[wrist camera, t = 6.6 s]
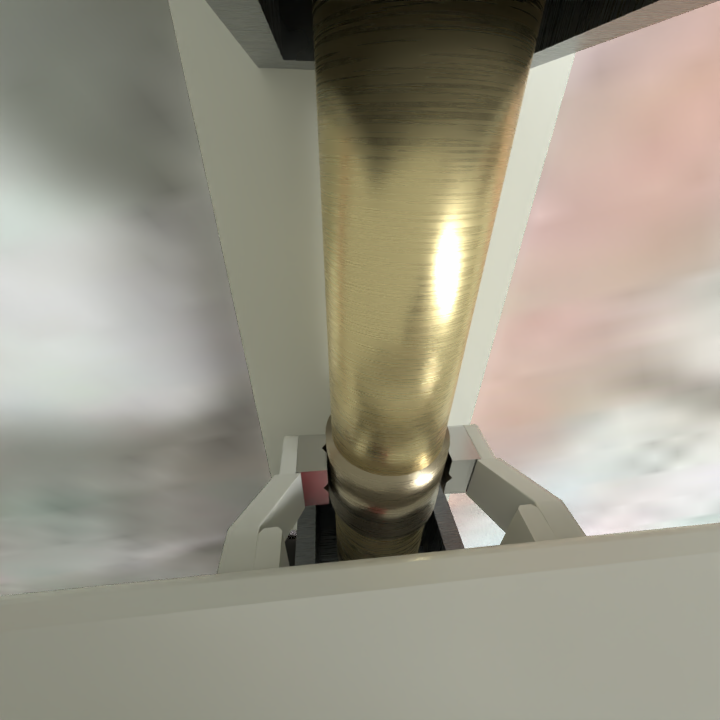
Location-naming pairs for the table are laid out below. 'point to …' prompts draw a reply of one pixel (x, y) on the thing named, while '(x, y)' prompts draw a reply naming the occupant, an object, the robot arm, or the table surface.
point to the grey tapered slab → (555, 40)
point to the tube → (407, 235)
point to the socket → (321, 541)
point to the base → (318, 219)
